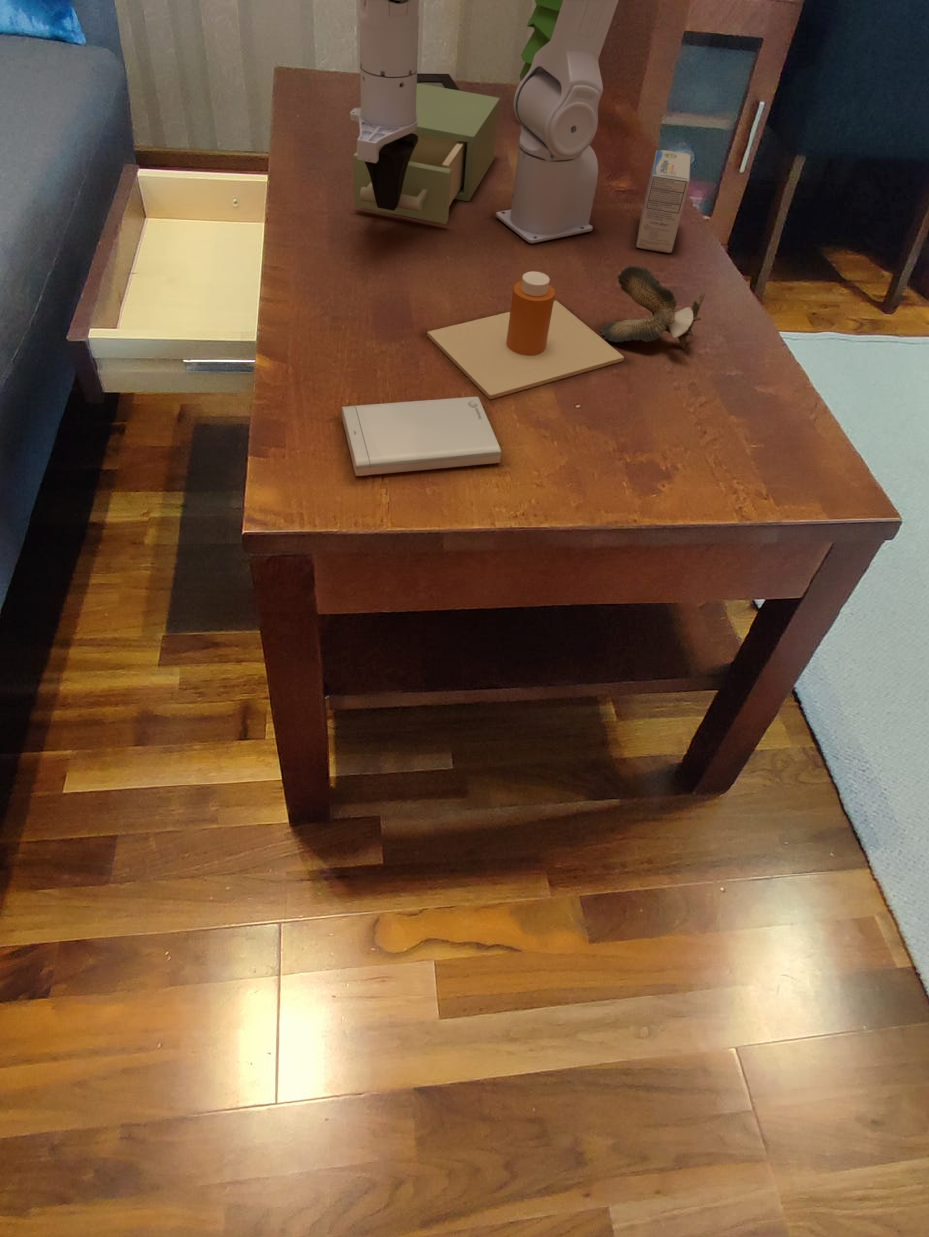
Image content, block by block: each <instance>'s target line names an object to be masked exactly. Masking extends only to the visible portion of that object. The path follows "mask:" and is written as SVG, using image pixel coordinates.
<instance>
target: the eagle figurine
mask: <svg viewBox="0 0 929 1237" xmlns="http://www.w3.org/2000/svg"><path fill="white" fill-rule="evenodd" d="M616 278H617V279H618V284H619V285H620V289H621V290H622V291H623V292H624V293H626V294H627V295H628V296H629V297H630V298H631V299H632V300H633V301H634V302H635V303H636V304H637V305H639V306H641V307H643V308H645V309H646V310H647V311H649V312H650V313H651V314H652V315H651V316H650V317H649V316H648V317H642V318H628V319H624V320H621V321H611V322H610V323H606V324H605V326H602V327H600V329H599V332H600V334H601V336H603V337H604V340H605V339H606V340H607V341H608V342H612V343H623V342H631V341H640V340H641V342H645V343H648V342H652V341H657V340H658V339H659V338H660V336H661V335H663V334H664V332H666V333H669V334H671V337H672V338H673V339H678V341H679V346H680V348H681V349H682V350H684V349H685V348H686V344H687V340H688V336H690V337H693V336H694V333H693V330H692V328H693V326H694V323H695V322H696V321H701V320H702V318H701V317H700V316H698V315H699V312H700V309H701V307H702V303H703V300H704V298H705V296H706V293H705V292H702V293H701V294H700V296H699V297H698V298H697V300H694V301H693V303H692V306H691V307H690V306H686V307H684V308H682V309H679V310H677V311H675V309H676V306H677V299H676V297H675V295H674V292H672V290H671V288H667V287H666V286H663V285H662V284H661V283H660V280H658V279H656V277H655V276H654V275H653V274H652V272H651V270H650V269H648V268H647V267H643V266H641V267H640V266H635V265H628V267H625V268H624V269H623V270H621V271H620V273H619V274H618V275H617V277H616Z"/></svg>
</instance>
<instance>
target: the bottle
mask: <svg viewBox="0 0 929 1237" xmlns="http://www.w3.org/2000/svg"><path fill="white" fill-rule="evenodd" d="M550 280H551V278H550V277H549V276H548V275H547V274H546V273H544V272H541V271H533V270H532V271H527V272H525V273H524V274H522V277H521V280H520V281H517V282H516V283H515V284H514V285H513V289H512V296H511V302H510V309H509V310H510V311H509V312H510V318H509V326H508V333H507V341H506V344H507V346H508V348H509V349H510V350H512V351H513V352H515V353H518V354H521V355H529V356H531V355H537V354H540V353H542V352H543V351H544V350H545V348H546V343H547V337H548V332H549V326H550V320H551V314H552V308H553V302H554V301H555V296H556V290H555V288H554V287H553V286H552V285H551V284H550Z"/></svg>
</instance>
